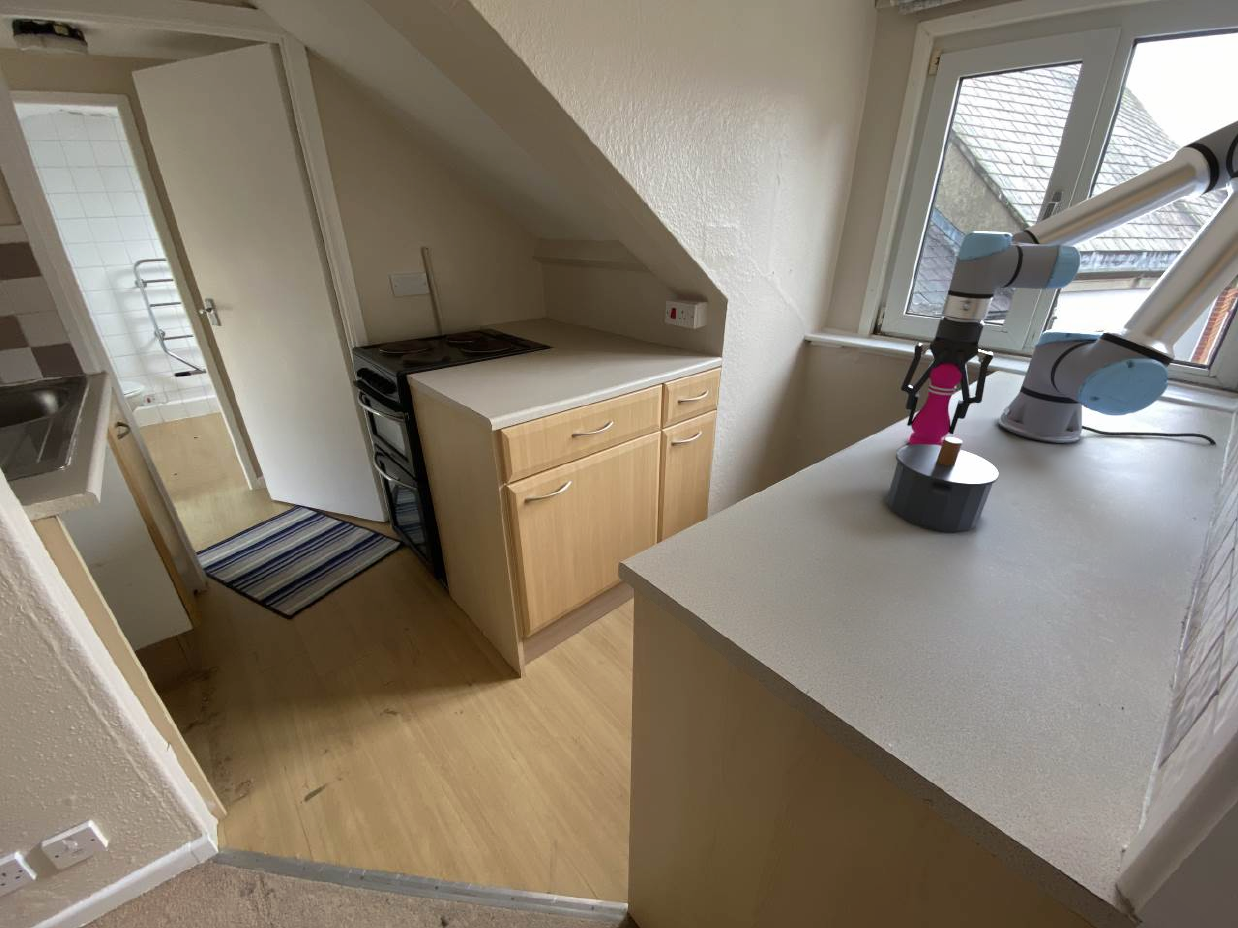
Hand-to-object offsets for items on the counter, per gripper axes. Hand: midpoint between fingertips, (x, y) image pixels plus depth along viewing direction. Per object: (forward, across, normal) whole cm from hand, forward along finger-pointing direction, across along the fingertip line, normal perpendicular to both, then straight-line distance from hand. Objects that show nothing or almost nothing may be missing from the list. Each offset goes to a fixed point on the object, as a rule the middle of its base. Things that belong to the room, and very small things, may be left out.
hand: (930, 427), depth 113 cm
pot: (+4, +3, -30) cm, 30 cm away
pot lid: (-4, +3, -30) cm, 30 cm away
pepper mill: (+4, 0, 0) cm, 4 cm away
